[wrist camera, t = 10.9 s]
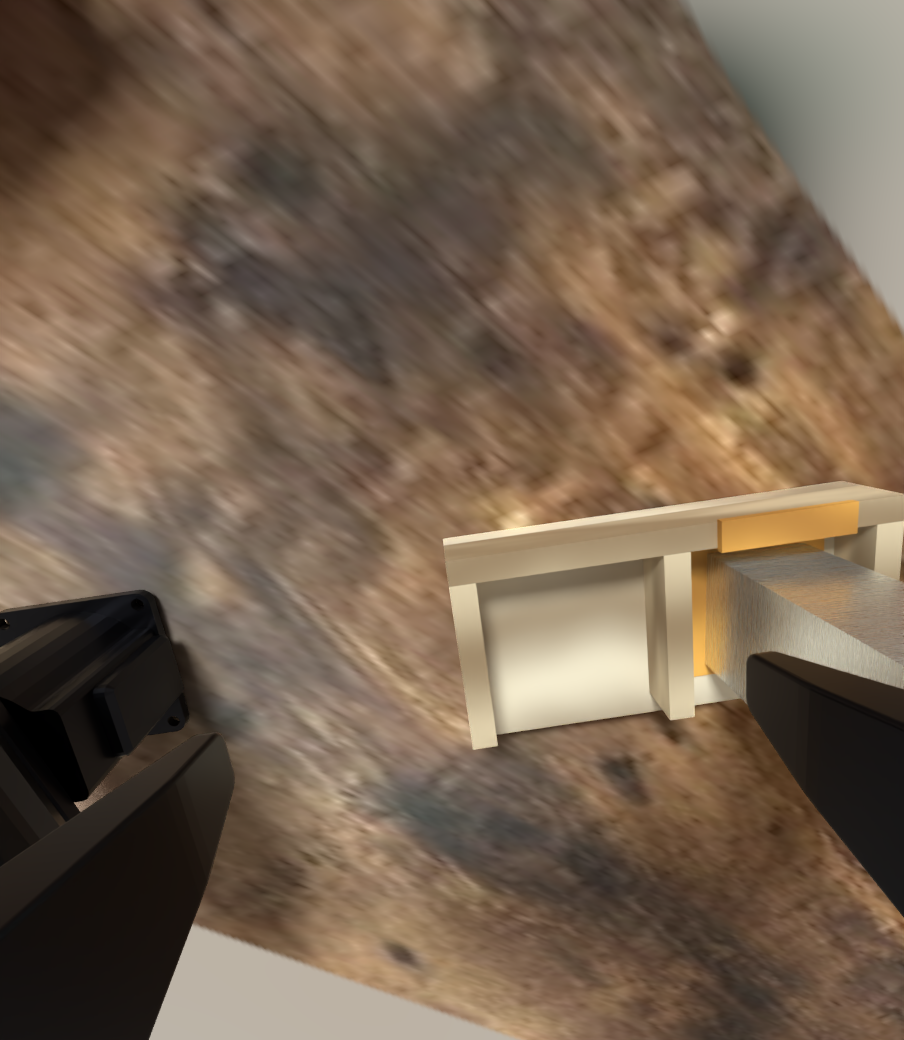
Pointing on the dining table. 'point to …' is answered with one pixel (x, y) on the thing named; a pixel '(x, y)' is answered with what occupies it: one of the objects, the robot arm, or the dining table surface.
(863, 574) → the brushed steel block
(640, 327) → the dining table surface
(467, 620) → the cream divided tray
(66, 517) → the dining table surface
